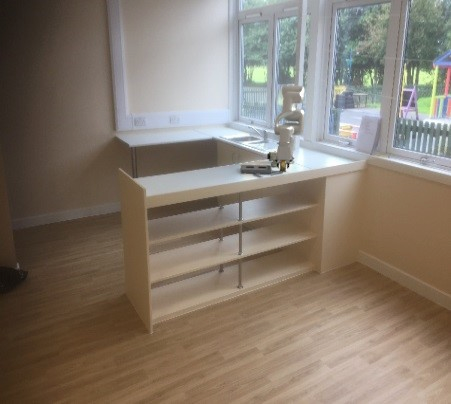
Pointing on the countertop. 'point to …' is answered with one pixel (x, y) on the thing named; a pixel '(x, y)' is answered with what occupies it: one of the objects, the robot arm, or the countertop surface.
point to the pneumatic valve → (270, 157)
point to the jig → (256, 169)
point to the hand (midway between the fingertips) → (282, 168)
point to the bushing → (283, 165)
